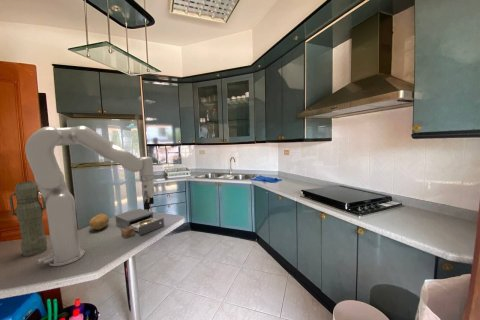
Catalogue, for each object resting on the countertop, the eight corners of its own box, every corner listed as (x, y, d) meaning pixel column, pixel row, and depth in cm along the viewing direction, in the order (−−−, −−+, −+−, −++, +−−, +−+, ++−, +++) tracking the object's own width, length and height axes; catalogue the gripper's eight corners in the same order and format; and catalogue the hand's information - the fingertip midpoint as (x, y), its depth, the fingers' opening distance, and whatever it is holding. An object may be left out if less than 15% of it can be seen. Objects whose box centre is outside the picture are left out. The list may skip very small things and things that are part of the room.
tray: (140, 235, 114) (139, 227, 114) (126, 229, 124) (125, 221, 123) (164, 225, 126) (164, 218, 126) (149, 220, 136) (149, 213, 136)
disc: (144, 228, 120) (144, 225, 120) (137, 226, 124) (137, 223, 123) (154, 223, 126) (154, 221, 125) (147, 221, 129) (147, 219, 129)
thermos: (51, 250, 102) (42, 181, 99) (17, 260, 94) (6, 185, 91) (51, 243, 109) (43, 179, 105) (19, 252, 101) (8, 183, 97)
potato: (85, 234, 119) (84, 221, 118) (94, 225, 132) (93, 213, 131) (105, 231, 122) (103, 218, 121) (111, 223, 135) (110, 211, 134)
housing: (128, 231, 121) (127, 221, 121) (116, 225, 131) (115, 215, 130) (153, 221, 134) (152, 212, 134) (140, 217, 144) (140, 208, 143)
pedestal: (126, 238, 112) (125, 231, 112) (121, 236, 115) (121, 229, 115) (135, 234, 116) (134, 228, 116) (130, 232, 119) (130, 226, 119)
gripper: (150, 180, 111) (152, 210, 113) (156, 175, 128) (158, 201, 130) (135, 181, 110) (138, 212, 111) (143, 175, 126) (145, 202, 128)
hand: (149, 206), depth 121 cm, fingers open, 9 cm apart
